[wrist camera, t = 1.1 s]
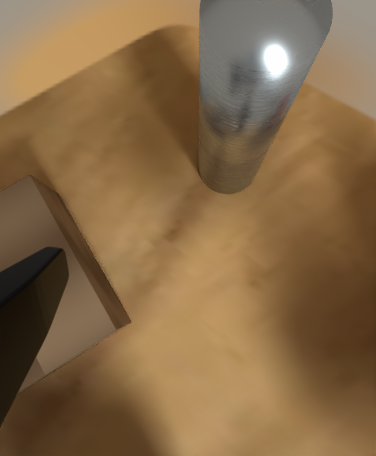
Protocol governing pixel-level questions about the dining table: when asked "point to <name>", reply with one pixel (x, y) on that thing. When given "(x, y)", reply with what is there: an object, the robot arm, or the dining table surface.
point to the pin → (251, 79)
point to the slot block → (78, 274)
